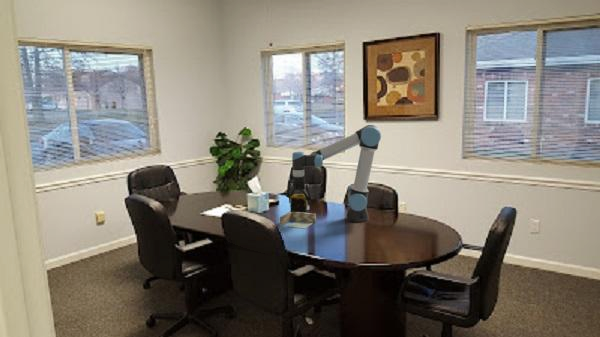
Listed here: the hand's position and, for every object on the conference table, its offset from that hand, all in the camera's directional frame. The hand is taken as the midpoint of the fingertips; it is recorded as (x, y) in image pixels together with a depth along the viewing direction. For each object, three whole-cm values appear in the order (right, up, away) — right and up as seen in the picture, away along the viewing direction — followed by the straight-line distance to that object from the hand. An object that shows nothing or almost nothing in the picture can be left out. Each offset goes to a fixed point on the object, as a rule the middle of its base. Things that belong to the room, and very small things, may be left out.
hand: (299, 208), depth 296 cm
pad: (0, -11, +2) cm, 11 cm away
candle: (0, -1, 0) cm, 1 cm away
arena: (-1, -10, +4) cm, 11 cm away
